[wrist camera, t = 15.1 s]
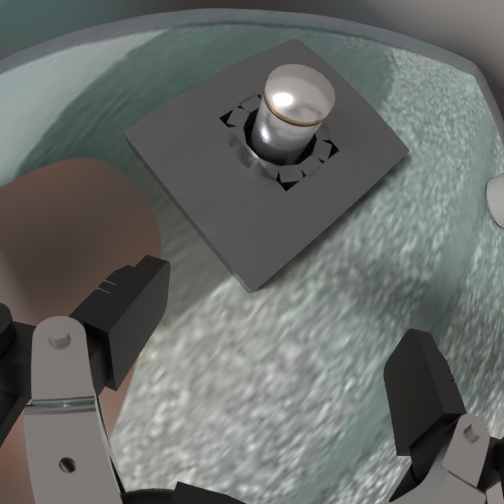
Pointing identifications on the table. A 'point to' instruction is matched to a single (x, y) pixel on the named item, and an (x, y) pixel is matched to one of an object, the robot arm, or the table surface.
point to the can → (496, 199)
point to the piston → (290, 113)
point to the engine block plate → (261, 164)
